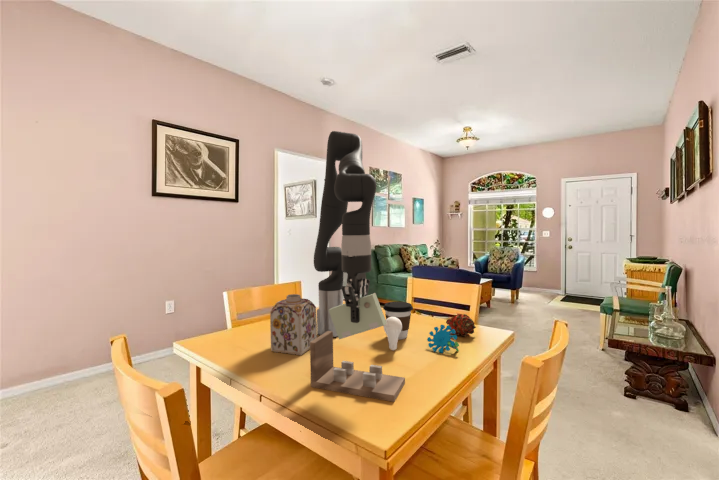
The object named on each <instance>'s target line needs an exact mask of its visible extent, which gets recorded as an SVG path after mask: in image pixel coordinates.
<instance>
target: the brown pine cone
mask: <svg viewBox="0 0 719 480" xmlns="http://www.w3.org/2000/svg"><path fill="white" fill-rule="evenodd" d="M445 321H446V322H445V324H447V325H446V326H448V325H449V326H450V327H451V329H450V330H449V331H451V330H452V329H454V330H455V332H456V333H455V334H454V335H456V336H459V335H461V336H463V337H468V335H473V334H475V329H476V328H477V327H476V326H475V322H474V320H473V319H472V318H471V317H470V316H469V315H468V314H467V313H456V315H455V316H451V317H450V318H448V319H446V320H445Z"/></svg>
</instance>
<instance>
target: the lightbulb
mask: <svg viewBox="0 0 719 480" xmlns="http://www.w3.org/2000/svg"><path fill="white" fill-rule="evenodd" d="M385 320H386V322H387V323H386V324H385V325H384V326H382V327H383V330H384V332H385V334H386V336H387V342H388V348H389V349H390V350H391V351H395V350H397V348H398V341H399V339H398V336H399V334H400V332H401V330H402V323H401V321H400V320H399V319H398V318H396V317H389V318H387V319H386V318H385Z"/></svg>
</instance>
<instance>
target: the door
mask: <svg viewBox="0 0 719 480" xmlns="http://www.w3.org/2000/svg"><path fill="white" fill-rule="evenodd" d="M359 310H360V321H359V322H358V323H353V322H351V308H350V307H347V306H346V303H345V302H344V303H343V304H342V305H339V306H336V307H334V308H331V309H329V313H330V316H331V318H332V321H333V324H334V327H335V329H336V332H337V335H338V336H337V337H338V340H342V339H345V338H348V337H352V336H354V335H359V334H361V333H364V332H368V331H371V330H374V329H378V328H381V327H383V326H384V325H385V324H386V323H387V322H386V316H385V315H384V313H383V309H382V307H381V305H380V301H379V298H378V296H377V293H376V292H374V293H371V294H368V296H365V297H362V298H360V307H359Z"/></svg>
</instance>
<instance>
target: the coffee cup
mask: <svg viewBox="0 0 719 480" xmlns="http://www.w3.org/2000/svg"><path fill="white" fill-rule="evenodd" d="M382 310H384V311H385V315H384V316H385V320H386V319H387V318H389V317H396V318H398V319H399V320H400V321H401V323H402V330H401V332H400V334H399V336H398V340H405V339H406V338H407V337H408V334H409V329H410V323H411V317H412V312H411V311H413V310H414V307H413V305H412V304H411V303H410V302H406V301H390V302H389V301H388V302H386V303H385V304H384V306H383V309H382Z"/></svg>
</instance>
